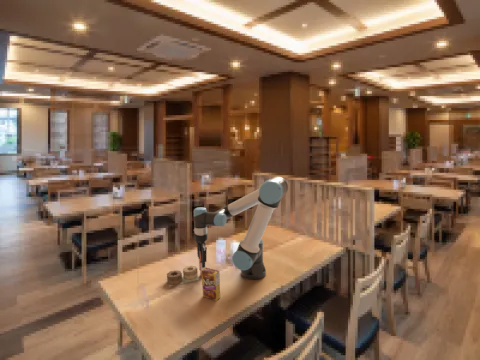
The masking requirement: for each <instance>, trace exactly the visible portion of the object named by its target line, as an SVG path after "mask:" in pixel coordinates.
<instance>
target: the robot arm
mask: <svg viewBox="0 0 480 360" xmlns="http://www.w3.org/2000/svg"><path fill="white" fill-rule="evenodd" d="M288 189H289V184H288V182H287V181H286V179H285V178H284V177H281V176H273V177H271V178H269V179H267V180H265V181H264V182H263V183H262V184H261V185H260V187H259V188H258V189H256V190H254V191H252V192H250V193H248V194H245V195H244V196H243V197H241V198H238V199H236V200H235V201H233V202H231V203H229V204H227V205H226V206H222V207H221V208H219V209H218V210H216V211H214V212H213V211H212V212H211V211H207V208H206V207H203V206H202V207H200V206H199V207H196V208H194V209H193V224H194V225H193V226H194V229H193V232H194V241H195V242H196V251H197V258H198V267H199V271H200V263H201V273H202V270H203V269H204V268H206V263H207V250H208V248H207V246H206V241H207V240H208V226H215V227H225V225H226V224H227V221H228V219H230V218H232V217H234V216H237V215H239V214H241V213H242V212H244V211H246V210H248V209H250V208H252V207H255V206H256V209H255V211H254V214H253V216H252V219H251V222H250V224H249V227H248V229H247V232H246V234H245V236H244V238H243V239H242V240H240V241H239V244H238V246H237V248H236V251H234V252H233V254H232V260H231V261H232V263H233V265H234V267H235V268H237V269H238V270H240V274H241V276H242V277H243V278H245V279H248V280H259V279H262V278H264V277H265V276H266V274H267V272H266V271H267V270H266V266H265V263H264V250H263V249H264V247H263V246H264V241H263V236H264V234H265V231H266V229H267V228H268V227H267V226H268V224H269V223H270V220H271V217H272V215H273V212H274V210H276V209H278V208H279V206H280V204H281V201H282V199H283V197H284V196H285V195H286V194H287V193H288ZM200 254H201V261H200Z"/></svg>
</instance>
